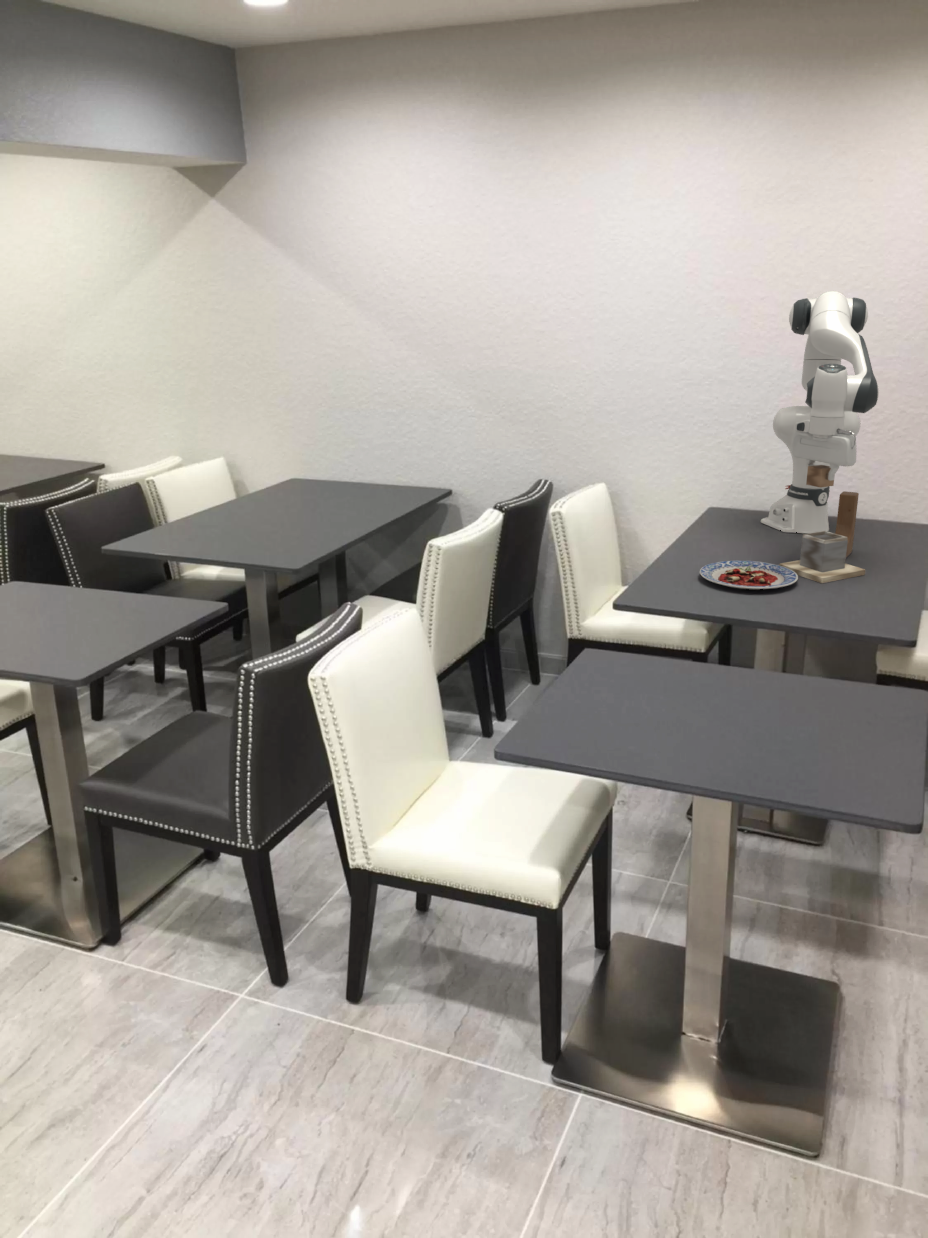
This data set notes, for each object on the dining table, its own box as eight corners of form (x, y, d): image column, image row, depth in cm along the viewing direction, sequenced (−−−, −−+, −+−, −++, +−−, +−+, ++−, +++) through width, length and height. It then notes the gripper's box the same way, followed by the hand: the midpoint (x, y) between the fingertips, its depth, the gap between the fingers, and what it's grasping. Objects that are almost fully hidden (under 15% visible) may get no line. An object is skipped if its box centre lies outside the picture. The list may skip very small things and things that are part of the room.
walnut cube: (806, 484, 277) (807, 466, 275) (819, 482, 279) (821, 464, 277) (819, 487, 272) (821, 468, 271) (833, 485, 274) (835, 467, 273)
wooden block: (845, 559, 292) (852, 498, 286) (829, 557, 294) (835, 496, 289) (852, 552, 299) (859, 492, 294) (836, 550, 302) (843, 490, 296)
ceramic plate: (794, 599, 259) (795, 588, 258) (692, 590, 267) (693, 579, 266) (799, 572, 282) (800, 562, 281) (705, 564, 290) (706, 554, 289)
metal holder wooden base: (778, 568, 284) (782, 533, 281) (820, 561, 291) (824, 526, 288) (821, 583, 271) (825, 546, 267) (864, 574, 278) (869, 538, 274)
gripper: (865, 430, 263) (859, 483, 267) (807, 421, 280) (802, 471, 285) (847, 432, 260) (841, 485, 265) (790, 423, 278) (785, 473, 282)
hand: (820, 478), depth 275 cm, fingers closed on walnut cube, 5 cm apart
